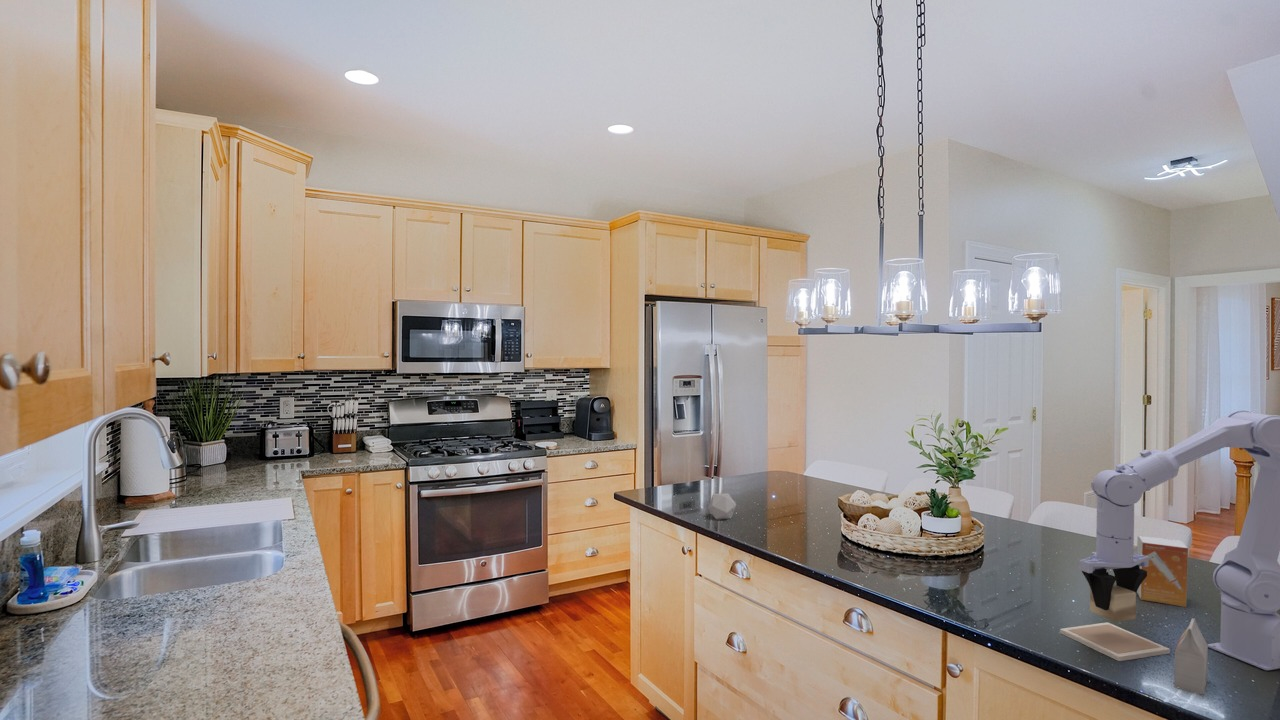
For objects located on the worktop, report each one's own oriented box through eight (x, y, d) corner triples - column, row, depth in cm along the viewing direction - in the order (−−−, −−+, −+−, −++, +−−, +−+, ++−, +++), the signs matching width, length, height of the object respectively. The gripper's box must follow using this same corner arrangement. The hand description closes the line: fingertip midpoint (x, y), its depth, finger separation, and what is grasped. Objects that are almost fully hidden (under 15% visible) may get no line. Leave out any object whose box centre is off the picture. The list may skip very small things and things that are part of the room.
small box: (1140, 600, 145) (1141, 541, 144) (1135, 591, 150) (1136, 534, 150) (1187, 607, 141) (1188, 547, 140) (1180, 598, 146) (1182, 540, 146)
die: (731, 524, 208) (743, 498, 211) (708, 511, 208) (720, 484, 211) (723, 527, 215) (735, 501, 219) (700, 514, 215) (712, 488, 219)
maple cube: (1135, 618, 122) (1135, 592, 122) (1114, 621, 121) (1114, 594, 121) (1110, 608, 127) (1110, 583, 127) (1089, 611, 126) (1090, 585, 126)
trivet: (1169, 653, 120) (1170, 648, 120) (1119, 661, 116) (1119, 656, 116) (1107, 626, 131) (1107, 621, 131) (1059, 632, 128) (1059, 628, 128)
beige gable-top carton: (1207, 680, 110) (1208, 621, 110) (1203, 695, 105) (1205, 633, 105) (1178, 672, 113) (1180, 614, 112) (1174, 686, 108) (1175, 626, 108)
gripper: (1123, 526, 129) (1122, 595, 129) (1065, 531, 125) (1064, 602, 126) (1160, 536, 122) (1159, 609, 123) (1100, 542, 119) (1098, 617, 119)
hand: (1113, 606), depth 124 cm, fingers closed on maple cube, 5 cm apart
